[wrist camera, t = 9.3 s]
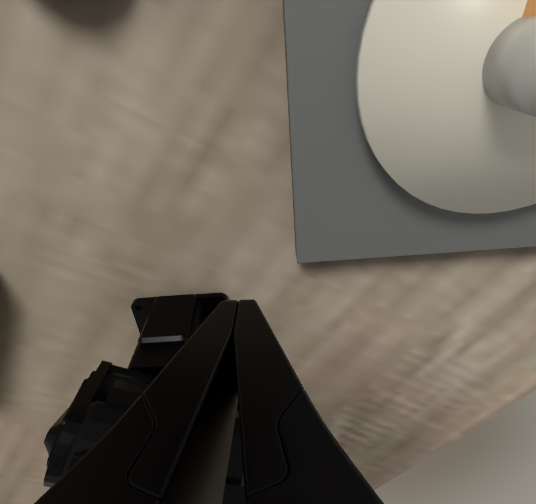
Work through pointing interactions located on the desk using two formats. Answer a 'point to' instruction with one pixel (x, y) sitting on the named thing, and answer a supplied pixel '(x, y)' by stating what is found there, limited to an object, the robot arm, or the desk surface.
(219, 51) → the desk surface
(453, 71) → the dial
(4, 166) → the desk surface
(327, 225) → the dial board
